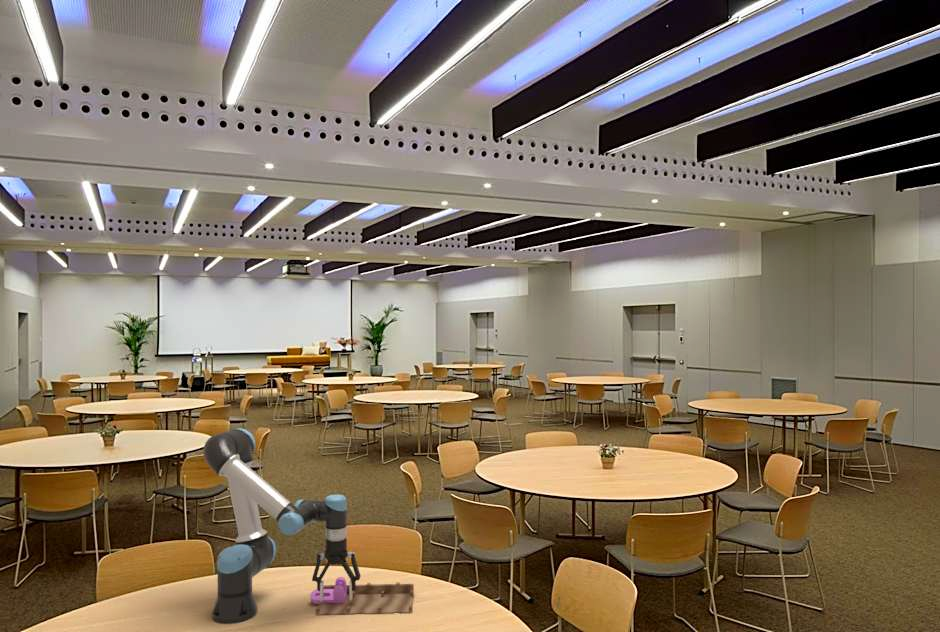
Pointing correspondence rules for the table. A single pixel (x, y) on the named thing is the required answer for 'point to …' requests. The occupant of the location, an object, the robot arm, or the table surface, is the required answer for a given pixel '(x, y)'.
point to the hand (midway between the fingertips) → (336, 599)
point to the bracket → (331, 593)
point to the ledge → (372, 600)
